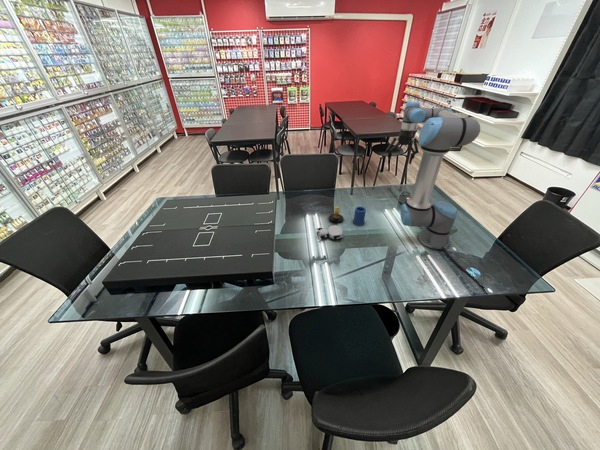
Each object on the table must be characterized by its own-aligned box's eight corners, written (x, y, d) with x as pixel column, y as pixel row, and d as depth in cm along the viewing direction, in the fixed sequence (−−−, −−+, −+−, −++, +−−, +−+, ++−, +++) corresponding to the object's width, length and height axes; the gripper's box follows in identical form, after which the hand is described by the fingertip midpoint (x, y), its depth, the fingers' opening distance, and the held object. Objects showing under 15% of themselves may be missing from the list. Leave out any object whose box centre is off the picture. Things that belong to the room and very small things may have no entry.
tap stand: (343, 224, 154) (344, 210, 149) (328, 223, 155) (329, 209, 150) (342, 216, 162) (344, 203, 156) (329, 215, 162) (329, 202, 157)
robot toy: (318, 244, 139) (344, 241, 139) (317, 238, 136) (344, 235, 136) (315, 231, 149) (340, 229, 149) (315, 225, 146) (340, 222, 147)
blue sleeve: (364, 225, 152) (366, 211, 147) (353, 225, 153) (355, 211, 147) (363, 220, 158) (365, 206, 152) (353, 219, 158) (355, 206, 153)
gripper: (425, 128, 156) (417, 162, 167) (385, 127, 158) (379, 160, 169) (429, 131, 150) (420, 165, 161) (387, 130, 152) (381, 164, 163)
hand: (399, 163), depth 165 cm, fingers open, 13 cm apart
